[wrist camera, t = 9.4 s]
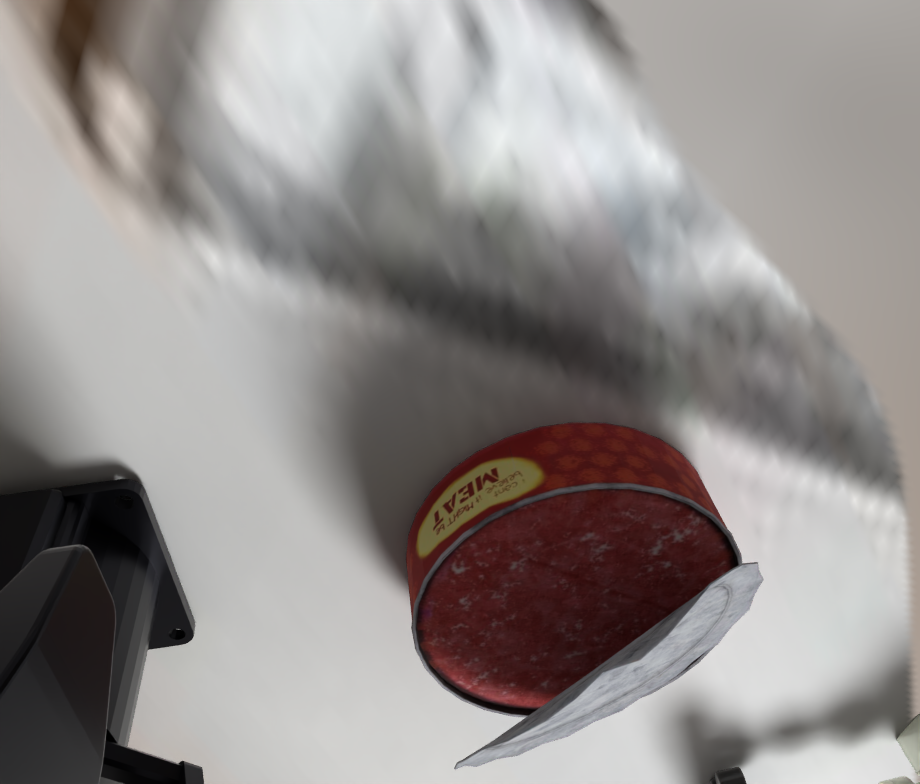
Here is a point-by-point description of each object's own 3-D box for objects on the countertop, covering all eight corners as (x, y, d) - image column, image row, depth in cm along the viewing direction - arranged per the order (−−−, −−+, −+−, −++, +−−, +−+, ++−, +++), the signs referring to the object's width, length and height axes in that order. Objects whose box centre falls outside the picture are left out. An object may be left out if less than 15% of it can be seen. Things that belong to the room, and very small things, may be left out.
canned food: (605, 339, 29) (878, 461, 22) (613, 571, 34) (839, 735, 27) (299, 473, 24) (517, 689, 17) (360, 722, 29) (550, 976, 22)
